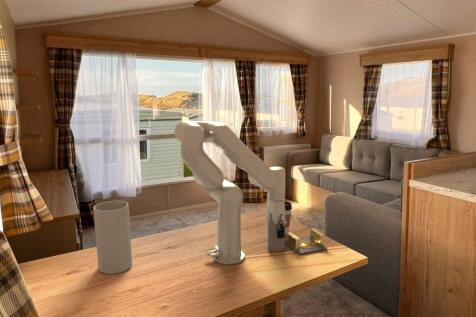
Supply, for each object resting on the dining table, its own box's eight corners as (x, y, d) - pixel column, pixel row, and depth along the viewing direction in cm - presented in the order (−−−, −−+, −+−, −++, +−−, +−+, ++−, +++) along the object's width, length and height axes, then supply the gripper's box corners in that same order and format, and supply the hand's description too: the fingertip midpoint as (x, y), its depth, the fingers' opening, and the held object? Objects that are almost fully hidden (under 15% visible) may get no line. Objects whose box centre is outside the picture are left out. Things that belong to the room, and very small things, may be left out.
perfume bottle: (283, 250, 153) (284, 210, 149) (268, 250, 153) (268, 210, 150) (282, 244, 159) (283, 205, 156) (267, 244, 159) (267, 205, 156)
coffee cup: (271, 230, 175) (271, 200, 173) (286, 228, 178) (287, 199, 175) (278, 236, 168) (278, 206, 165) (294, 234, 170) (295, 204, 167)
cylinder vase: (138, 261, 144) (134, 202, 139) (120, 276, 132) (115, 212, 127) (111, 258, 147) (107, 199, 142) (91, 272, 135) (86, 209, 131)
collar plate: (298, 255, 148) (299, 241, 147) (283, 243, 160) (284, 230, 159) (327, 250, 153) (327, 236, 152) (310, 238, 165) (311, 226, 164)
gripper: (259, 191, 158) (259, 228, 162) (277, 202, 143) (276, 242, 146) (274, 189, 161) (274, 225, 164) (294, 200, 145) (293, 240, 148)
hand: (275, 233), depth 155 cm, fingers open, 9 cm apart
